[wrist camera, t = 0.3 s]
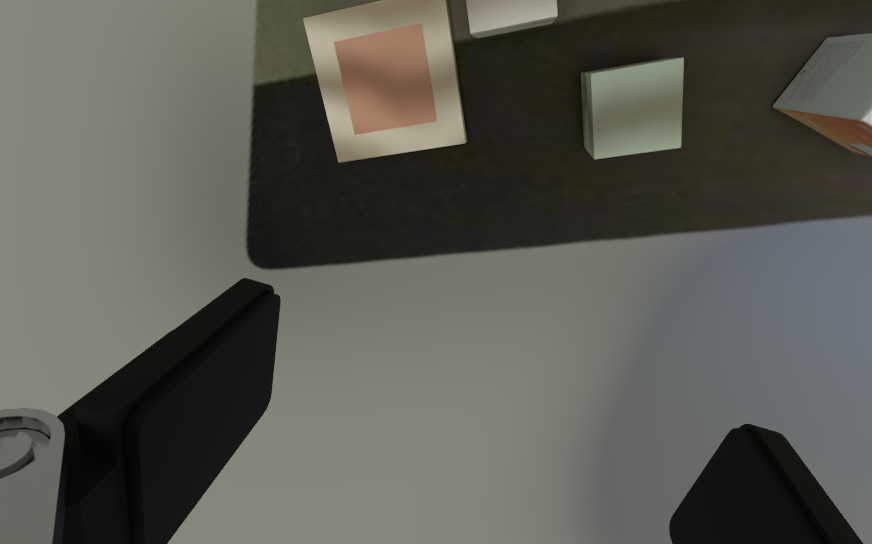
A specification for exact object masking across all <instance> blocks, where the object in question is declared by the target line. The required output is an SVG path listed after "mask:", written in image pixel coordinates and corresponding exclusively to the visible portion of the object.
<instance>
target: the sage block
mask: <svg viewBox="0 0 872 544" xmlns="http://www.w3.org/2000/svg"><path fill="white" fill-rule="evenodd" d="M683 69H684V58H669V59H657V60H652V61H646V62H640V63H634V64H629V65H623V66H617V67H612V68H606V69H600V70H595V71H589V72H583V73H581V89H582V111H583V133H584V148H585V149H586V150H587V151H588V152H589V154H590V155H591V156H592V157H593V158H594V159H601V158H608V157H616V156H623V155H630V154H638V153H645V152H652V151H660V150H667V149H674V148H681V132H682V100H683Z"/></svg>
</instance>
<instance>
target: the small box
mask: <svg viewBox="0 0 872 544" xmlns="http://www.w3.org/2000/svg"><path fill="white" fill-rule="evenodd" d="M773 108H775V109H777V110H779V111H780V112H782V113H784V114H786V115H788V116H790V117H792V118H794V119H796V120H798V121H799V122H801V123H803V124H805V125H806V126H808V127H810V128H812V129H813V130H815V131H817V132H818V133H820V134H822V135H823V136H825V137H827V138H829V139H830V140H832V141H834V142H836V143H838V144H839V145H841V146H843V147H844V148H846V149H848V150H850V151H851V152H854V153H858V154H862V155H866V156H870V157H872V33H868V34H859V35H848V36H839V37H829V38H826V39H825V40H824V42H823V43H822V44H821V46H820V47H819V48H818V49H817V51H816V52H815V53H814V54H813V56H812V57H811V58H810V59H809V61H808V62H807V63H806V64H805V66H804V67H803V68H802V69H801V71H800V72H799V73H798V74H797V76H796V77H795V78H794V79H793V81H792V82H791V83H790V84H789V86H788V87H787V88H786V89H785V91H784V92H783V93H782V94H781V96H780V97H779V98H778V99H777V101H776V102H775V103H774V104H773Z"/></svg>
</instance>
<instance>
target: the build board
mask: <svg viewBox="0 0 872 544" xmlns="http://www.w3.org/2000/svg"><path fill="white" fill-rule="evenodd" d="M303 20H304V25H305V29H306V33H307V37H308V41H309V45H310V49H311V53H312V57H313V61H314V65H315V69H316V73H317V77H318V81H319V85H320V89H321V93H322V98H323V102H324V106H325V110H326V114H327V118H328V122H329V126H330V130H331V134H332V138H333V142H334V146H335V150H336V154H337V158H338V162H346V161H352V160H359V159H365V158H372V157H379V156H385V155H392V154H398V153H405V152H411V151H418V150H424V149H431V148H438V147H444V146H451V145H457V144H464V143H466V142H467V137H466V129H465V122H464V115H463V108H462V101H461V93H460V86H459V79H458V72H457V65H456V58H455V50H454V43H453V36H452V29H451V22H450V15H449V7H448V0H381V1H376V2H372V3H368V4H363V5H359V6H354V7H350V8H346V9H341V10H337V11H333V12H328V13H324V14H320V15H315V16H311V17H307V18H303Z"/></svg>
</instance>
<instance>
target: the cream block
mask: <svg viewBox="0 0 872 544" xmlns="http://www.w3.org/2000/svg"><path fill="white" fill-rule="evenodd" d="M466 3H467V10H468V18H469V26H470V34H471V35H473V36H474V37H476V38H477V39H478V38H483V37H488V36H493V35H498V34H503V33H508V32H513V31H518V30H523V29H528V28H533V27H538V26H543V25H548V24H552V23H553V22H554V20H555V19H556V18H557V16H558V13H557V0H466Z"/></svg>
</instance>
